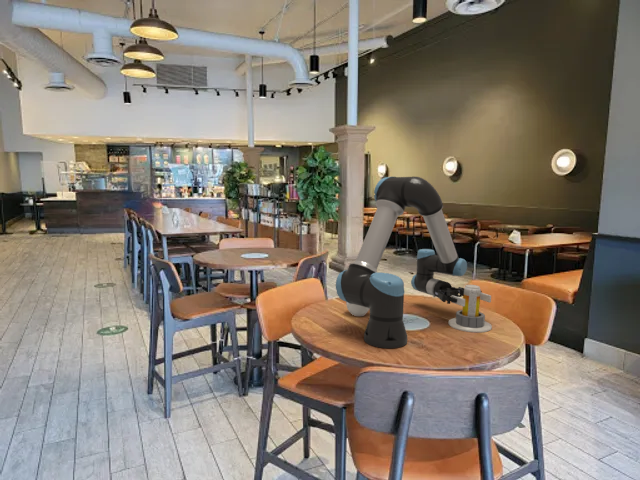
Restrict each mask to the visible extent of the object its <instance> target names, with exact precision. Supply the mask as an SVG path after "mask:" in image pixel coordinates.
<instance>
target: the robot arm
mask: <svg viewBox="0 0 640 480" xmlns="http://www.w3.org/2000/svg"><path fill="white" fill-rule="evenodd" d="M373 191H374V192H373V193H374V195H373V197H374V201H375V203H374V204H375V206H376V211H375V213H374V216H373V218H372V221H371V223H370V224H369V225H370V226H369V228H368V230H367V232H366V234H365V237H364V240H363V242H362V244H361V247H360V249H359V252H358V254H357V257H356V259H355V261H353V262H350V264H349V266H348V267H347V269H345V270H343V271H341V272H339V273H338V275H337V277H336V281H335V290H336V295H337V296H338V298H339V299H340V300H342V301H343V302H348V303H350V304H356V305H360V306H364V307H367V308H370V309H369V319H368V320H367V321H368V322H367V324H366V327H365V330H364V333H363V340H364V341H363V342H365V343H366V344H367V345H370V346H371V347H375V348H376V347H377V348H381V349H396V348H397V349H398V348H402V347H404V346H406V345H407V344H408V333H407V329H406V326H405V323H404V303H405V302H404V301H405V299H404V298H405V283H404V281H403V279H402V278H401V277H400V276H398V275H396V274H393V273H389V272H388V273H387V272H386V273H385V272H378V267H379V265H380V261H381V260H382V257H383V254H384V252H385V249H386V248H387V244H388V242H389V239H390V237H391V234H392V232H393V229H394V227H395V224H396V221H397V219H398V217H399V216H403V215H404V212H405V211H406V208H407V207H408V208H409V207H410V208H414V209H416V210H417V211H418V214H419V215H420V216H422V218H423V220H424V222H425V225H426V227H427V231H428V233H429V236H430V238H431V240H432V244H433V246H434V248H435V250H434V249H431V248H422V249H421V248H420V249H418V250H417V255H416V256H417V257H416V272H415V273H416V274H414V275H413V276H412V278H411V281H410V283H411V284H410V285H411V287H412V289H413V290H416V291H418V292H419V293H423V294H427V295H430V296H432V297H433V298H437V299H439V300H440V301H441V302H443V303H446V304H448V305H450V304H451V303H452V304H455V305H457V306H458V305H459V306H461V307H463V306H465V299H463V298H462V297H464V288H465V287H461V286H458V287H455V286H452V284H451V283H450V282H448V281H445V280H443V279H438V278H435V277H434V275H435V273H436V274H437V273H439V274H443V275H448V276H453V277H455V276H456V277H463V276H464V275H465V274H466V272H467V270H468V269H467V268H468V263H467V261H466V260H465V259H464V258H461V257H460V258H459V254H458V253H457V250H456V247H455V244H454V242H453V237H452V235H451V233H450V232H451V231H450V230H449V226H448V224H447V221H446V218H445V215H444V212H443V210H442V209H443V208H444V204H443V201H442V198H441V196H440V194H439V193H438V191H437V189H436V188H435V186H433V185H432V183H430V182H429V181H427V180H426V179H425V178H422V177H419V176H389V177H388V176H387V177H384V178H383V177H382V178H381V179H380V180H379V181H377V183H376V185H375V188H374V190H373ZM435 251H436V253H435ZM436 254H437V255H436ZM480 301H484V302H486V303H491V302H492V295H490V294H487V293H484V292H483V291H482V290H481V293H480Z"/></svg>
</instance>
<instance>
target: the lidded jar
mask: <svg viewBox="0 0 640 480" xmlns="http://www.w3.org/2000/svg"><path fill="white" fill-rule="evenodd" d="M345 302H346V301H345ZM345 305H346V308H347V311H348V312H349V313H350V314H352V316H353V315H354V317H364V316H366V314H367V313H369V312H370V308H367V307H364V306H360V305H356V304H350V303H348V302H346V304H345Z"/></svg>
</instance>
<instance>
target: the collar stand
mask: <svg viewBox="0 0 640 480" xmlns="http://www.w3.org/2000/svg"><path fill="white" fill-rule="evenodd" d="M462 310H463V309H461V310H456V312H455V317H454V318H450V319H449V320H448V325H449V326H450V327H451V328H452V329H455V330H456V331H457V330H458V331H461V332H466V333H487V332H490V331H491V330H492V326H493V325H492V324H491V323H490V322H489V321H488V322H487V321H486V319H485V318H486V315H485V314H484V313H483V312H480V311H479V317H469V316H464V315H462Z"/></svg>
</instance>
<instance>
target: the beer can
mask: <svg viewBox="0 0 640 480" xmlns="http://www.w3.org/2000/svg"><path fill="white" fill-rule="evenodd" d="M463 288H464V296H462V297H463V299H465V306H462V309H461V310H462V315H464V316H469V317H479V312H480V306H481V305H480V304H481V302H480V301H481V300H480V293H481V291H482V290H481V286H479V285H475V284H466V285H465V286H464V287H463Z"/></svg>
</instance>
